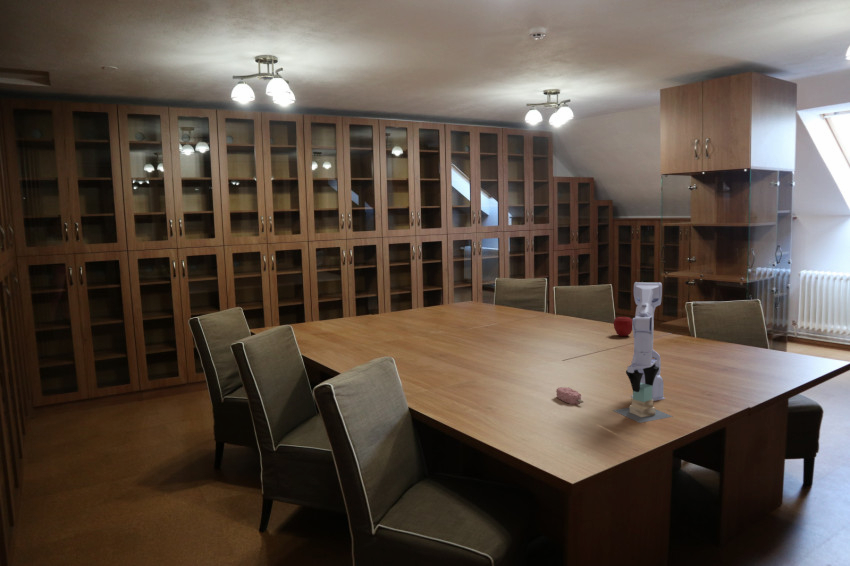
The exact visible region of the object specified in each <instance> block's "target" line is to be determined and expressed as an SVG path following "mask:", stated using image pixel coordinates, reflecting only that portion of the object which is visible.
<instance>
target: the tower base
mask: <svg viewBox="0 0 850 566" xmlns="http://www.w3.org/2000/svg"><path fill="white" fill-rule="evenodd" d="M629 407H630V413H633V414H635V415H637V416H640V417H646V416H651V415H655V409H656V407H654V406H653V407H651V408H648V409H644V410H643V409H640V408H637V407H633V406H632V404H630V405H629Z"/></svg>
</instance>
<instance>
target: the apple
mask: <svg viewBox="0 0 850 566" xmlns="http://www.w3.org/2000/svg"><path fill="white" fill-rule="evenodd" d="M632 322H633V318H631V317H627V316H624V315H622V316H617V317H615V318H614V321H613V328H614V331H615V332H616V334H617V335H618V336H619V337H627V336H629V335H630V334H631V333H632V332H633V329H632Z"/></svg>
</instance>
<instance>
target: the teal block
mask: <svg viewBox="0 0 850 566" xmlns="http://www.w3.org/2000/svg"><path fill="white" fill-rule="evenodd" d="M632 395H633V397H632V399H634V400H637V401H641V402H646V401H649V400H652V385H647V384H643V383H640V390H639V392H635V391H633V390H632Z"/></svg>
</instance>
